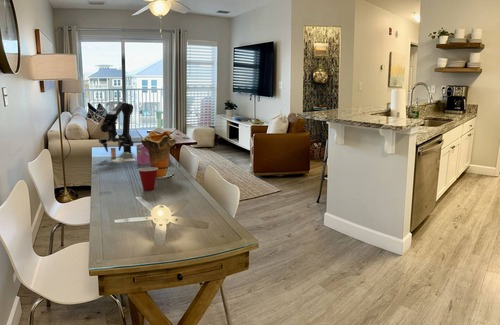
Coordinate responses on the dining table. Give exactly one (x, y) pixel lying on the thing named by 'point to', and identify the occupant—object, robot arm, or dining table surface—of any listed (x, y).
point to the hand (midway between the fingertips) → (113, 151)
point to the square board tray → (124, 158)
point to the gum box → (144, 155)
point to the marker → (113, 153)
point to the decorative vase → (159, 151)
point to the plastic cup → (148, 177)
